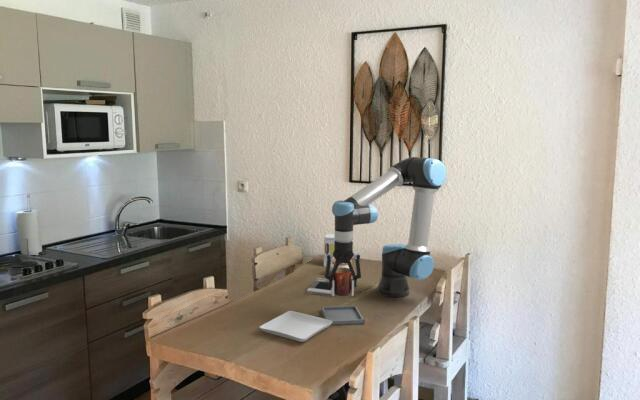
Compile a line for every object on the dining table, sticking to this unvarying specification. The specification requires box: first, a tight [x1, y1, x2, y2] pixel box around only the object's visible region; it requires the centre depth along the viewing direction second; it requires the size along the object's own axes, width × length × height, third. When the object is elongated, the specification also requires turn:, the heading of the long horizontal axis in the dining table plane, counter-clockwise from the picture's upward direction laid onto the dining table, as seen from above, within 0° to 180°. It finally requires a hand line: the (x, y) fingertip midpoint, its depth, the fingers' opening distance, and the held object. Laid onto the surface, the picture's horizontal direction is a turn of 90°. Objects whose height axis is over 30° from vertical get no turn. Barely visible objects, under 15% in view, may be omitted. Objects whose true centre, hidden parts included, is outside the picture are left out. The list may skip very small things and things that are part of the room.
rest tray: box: [321, 305, 365, 327], centre depth 226 cm, size 15×17×2 cm
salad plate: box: [259, 310, 332, 343], centre depth 212 cm, size 21×21×3 cm
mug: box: [333, 267, 352, 297], centre depth 224 cm, size 12×9×10 cm
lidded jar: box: [331, 259, 353, 270], centre depth 287 cm, size 11×11×9 cm
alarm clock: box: [306, 277, 344, 298], centre depth 262 cm, size 17×5×16 cm
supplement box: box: [323, 233, 335, 268], centre depth 306 cm, size 10×9×17 cm
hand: (342, 294), depth 225 cm, fingers closed on mug, 7 cm apart
